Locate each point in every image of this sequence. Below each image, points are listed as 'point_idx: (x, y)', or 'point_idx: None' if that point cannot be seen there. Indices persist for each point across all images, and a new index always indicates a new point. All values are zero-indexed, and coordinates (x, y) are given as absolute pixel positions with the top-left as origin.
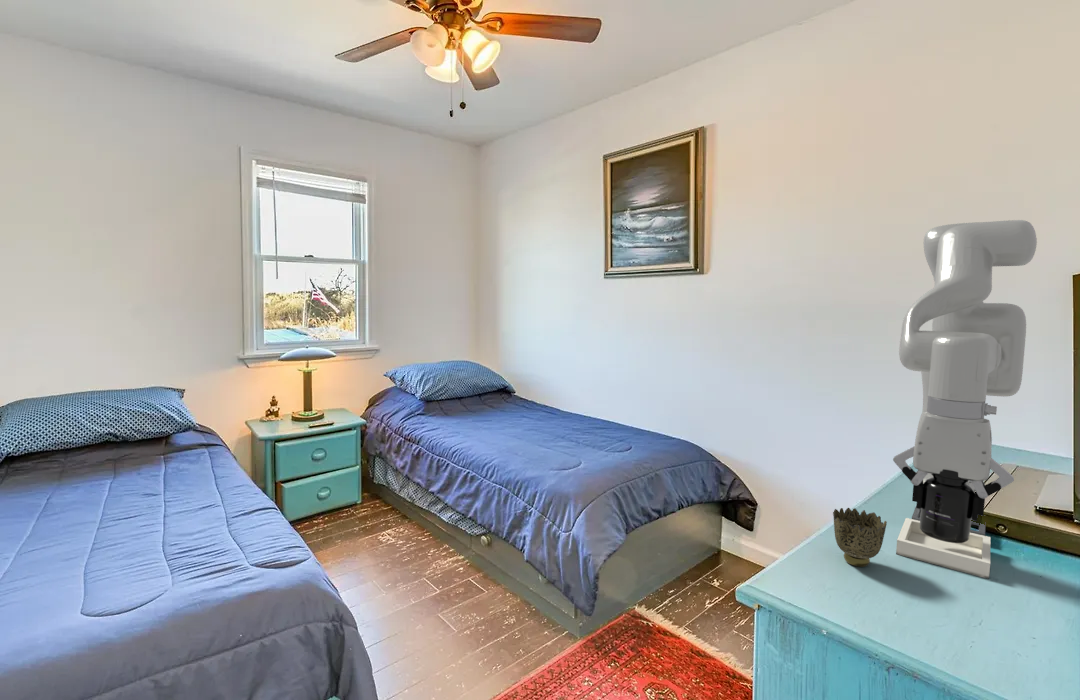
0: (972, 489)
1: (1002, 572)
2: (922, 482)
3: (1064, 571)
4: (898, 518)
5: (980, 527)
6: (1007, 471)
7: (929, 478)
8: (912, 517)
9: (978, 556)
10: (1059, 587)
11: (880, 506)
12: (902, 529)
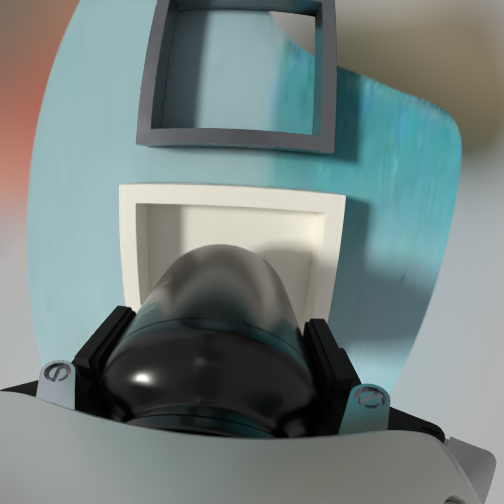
0: (317, 432)
1: (339, 310)
2: (97, 414)
3: (444, 219)
4: (119, 93)
5: (324, 96)
6: (489, 487)
7: (107, 418)
8: (137, 140)
9: (304, 267)
10: (415, 309)
11: (84, 42)
12: (127, 297)
